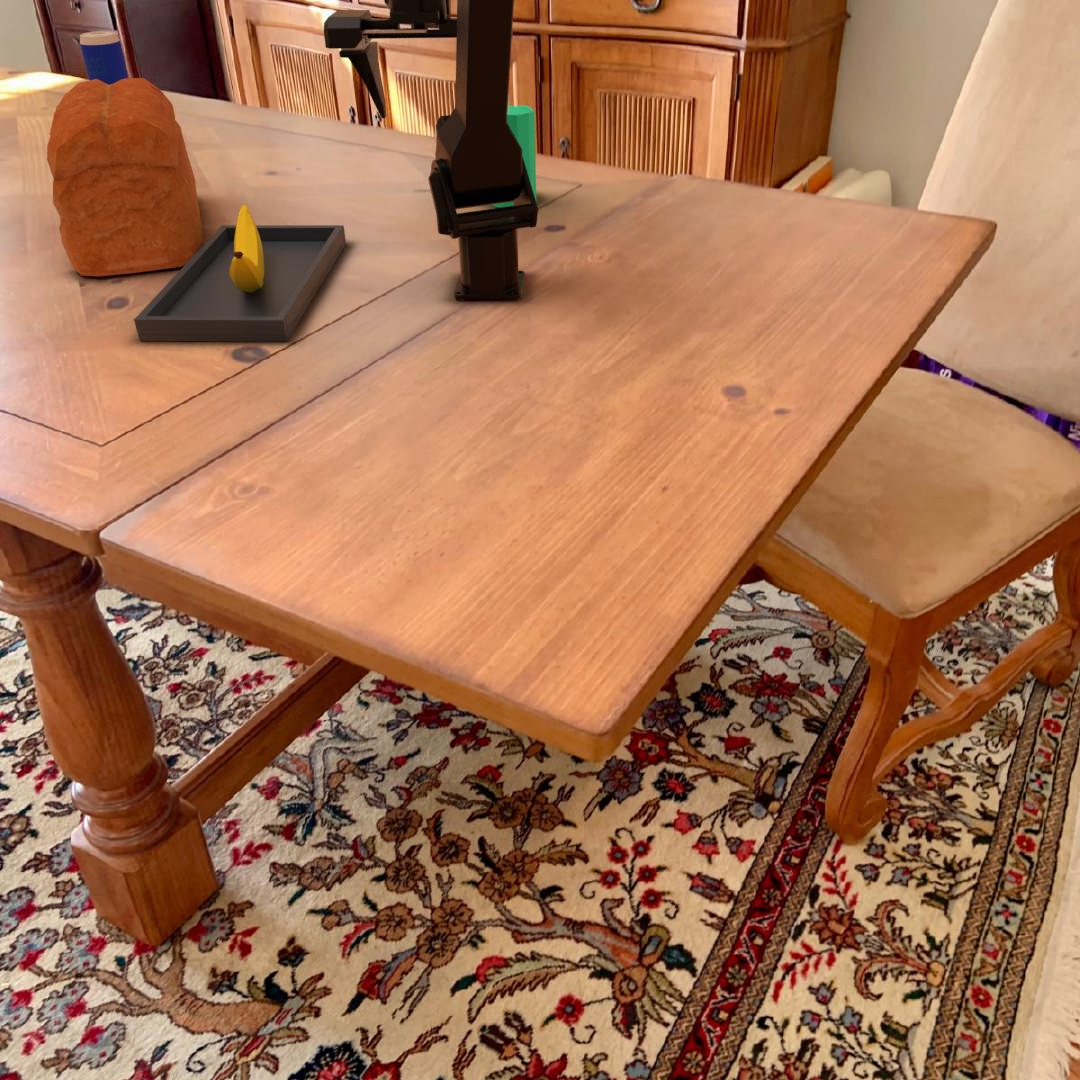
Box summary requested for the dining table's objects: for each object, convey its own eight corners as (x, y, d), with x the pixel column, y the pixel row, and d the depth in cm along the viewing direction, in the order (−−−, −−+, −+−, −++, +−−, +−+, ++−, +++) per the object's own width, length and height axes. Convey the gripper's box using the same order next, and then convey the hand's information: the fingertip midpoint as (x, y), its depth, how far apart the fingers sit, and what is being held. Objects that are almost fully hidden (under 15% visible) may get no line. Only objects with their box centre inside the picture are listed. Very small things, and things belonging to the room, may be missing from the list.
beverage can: (105, 146, 149) (76, 32, 140) (142, 141, 150) (115, 29, 142) (109, 154, 145) (79, 38, 136) (146, 149, 147) (119, 34, 138)
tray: (286, 341, 92) (282, 319, 91) (139, 340, 93) (133, 319, 91) (346, 243, 113) (343, 225, 111) (225, 243, 113) (221, 225, 112)
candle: (531, 209, 121) (528, 102, 114) (482, 207, 122) (476, 100, 115) (541, 194, 126) (539, 90, 119) (494, 192, 127) (489, 89, 120)
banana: (266, 249, 110) (256, 189, 106) (267, 317, 95) (254, 251, 91) (239, 251, 110) (227, 191, 106) (235, 321, 94) (221, 254, 91)
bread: (69, 283, 104) (23, 129, 96) (81, 207, 125) (44, 74, 117) (210, 266, 108) (177, 115, 99) (199, 194, 129) (171, 64, 120)
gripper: (514, -60, 106) (518, 99, 115) (337, -57, 107) (355, 100, 116) (505, -48, 97) (511, 124, 106) (312, -45, 98) (334, 125, 107)
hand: (426, 117), depth 109 cm, fingers open, 9 cm apart
